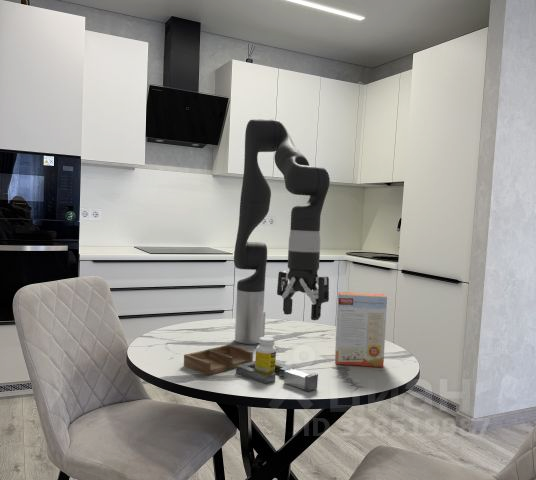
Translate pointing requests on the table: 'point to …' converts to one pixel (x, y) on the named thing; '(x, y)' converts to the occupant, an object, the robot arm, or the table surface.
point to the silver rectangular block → (301, 379)
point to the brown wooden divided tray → (217, 359)
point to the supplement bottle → (265, 355)
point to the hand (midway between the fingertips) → (301, 316)
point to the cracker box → (360, 329)
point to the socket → (260, 376)
